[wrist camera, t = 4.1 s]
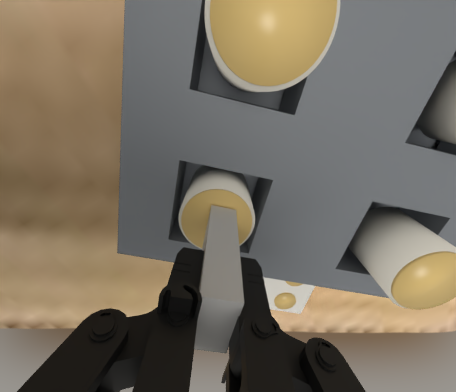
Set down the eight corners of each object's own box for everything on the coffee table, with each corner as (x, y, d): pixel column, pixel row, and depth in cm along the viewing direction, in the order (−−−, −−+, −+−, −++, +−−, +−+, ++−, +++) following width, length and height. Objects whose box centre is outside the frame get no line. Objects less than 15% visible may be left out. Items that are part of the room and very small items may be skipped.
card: (216, 296, 25) (215, 302, 25) (230, 247, 23) (230, 252, 22) (298, 309, 27) (301, 315, 26) (322, 264, 24) (325, 269, 23)
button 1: (185, 209, 19) (173, 247, 15) (194, 155, 17) (183, 179, 13) (239, 219, 20) (244, 259, 15) (254, 168, 18) (265, 196, 13)
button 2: (204, 81, 13) (193, 74, 9) (221, -24, 11) (219, -108, 7) (281, 100, 14) (311, 104, 9) (311, 4, 12) (369, -56, 7)
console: (140, 218, 21) (117, 253, 17) (162, -74, 13) (129, -164, 8) (389, 264, 24) (427, 304, 19) (535, 46, 16) (661, 27, 11)
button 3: (336, 251, 19) (375, 305, 14) (364, 201, 17) (418, 243, 12) (388, 261, 19) (442, 316, 14) (420, 213, 17) (495, 258, 12)
